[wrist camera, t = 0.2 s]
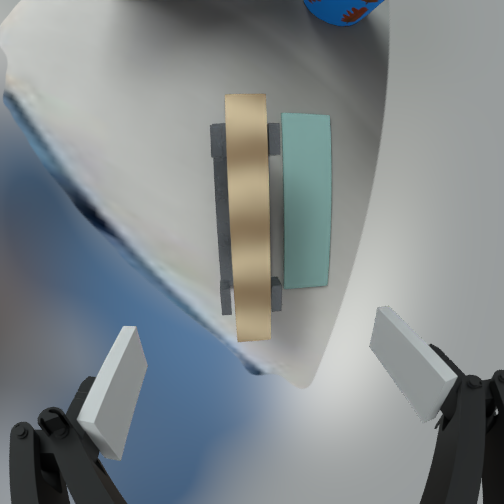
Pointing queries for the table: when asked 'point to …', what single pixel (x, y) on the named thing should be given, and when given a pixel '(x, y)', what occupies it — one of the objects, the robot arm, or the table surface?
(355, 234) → the table surface
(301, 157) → the mat
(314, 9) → the thermos
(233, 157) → the rail
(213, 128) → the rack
